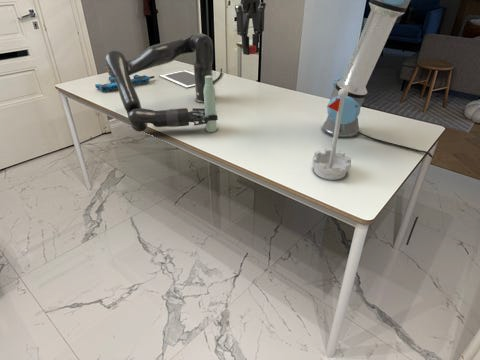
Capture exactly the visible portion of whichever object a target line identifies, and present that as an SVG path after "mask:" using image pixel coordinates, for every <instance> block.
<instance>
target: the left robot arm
mask: <svg viewBox="0 0 480 360" xmlns="http://www.w3.org/2000/svg"><path fill="white" fill-rule="evenodd" d="M192 53H195V60H194V61H193V73H194V75H195V86H194V88H195V100H196V102H198V103H202V104H204V86H205V76H212V83H213V84H215V83H216V82H217V81H218V80H219V79H220V78H221V77H222V75H223V74H222V73H223V68H220V74H219V76H218V77H217V78H216V79H213V62H214V44H213V39H212V38H211V37H210V36H208V35H207V34H204V33H201V32H197V33H196V32H195V33H194V34H191V35H187V36H185V37H183V38H180V39H176V40H170V41H166V42H161V43H156V44H153V45H151V46H149V47H147V48H146V49H145V50H144V51H142V52H141V53H140V54H139V55H138V56H136V57H135V58H132V59H129V60H127V57H126V55H125V54H124V53H123V52H121V51H120V50H110V51H108V52H106V54H105V57H104V63H105V66H106V70H107V73H108V75H109V77H112V78H115V80H116V83H117V87H118V88H117V89H118V93H119V97H120V100H121V102H122V105H123V107H124V110H125V112H126V114H127V119H128V122H129V124H130V127H131V128H132V129H133V130H134V131H135V132H144V131H145V130H146V129H147V128H148V124H151V125H153V127H155V128H165V127H170V128H176V127H178V128H179V127H188V126H189V125H190V123H192V124H193V125H194V126H200V125H201V126H202V125H206V124H207V123H208V122H209V121H214V120H216V121H218V119H219V118H218V115H217V114H216V115H209V116H208V115H205V108H197V107H196V108H195V107H193V108H191V109H192V110H191V111H190V110H189V109H188V108H187V107H184V108H181V107H180V108H169V109H162V110H161V109H159V110H156V109H155V110H154V109H151V108H150V109H149V108H143V107H142V105H141V101H140V99H139V95H138V94H137V91H136V88H135V87H134V85H133V84H132V81H131V79H132V78H131V75H135V74H136V73H139V72H142V71H145V70H148V69H152V68H154V67H159V66H162V65H166V64H170V63H172V62H174V61H175V60H177V59H179V58H180V57H181V56H184V55H188V54H192ZM213 80H214V81H213Z"/></svg>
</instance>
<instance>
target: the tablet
mask: <svg viewBox="0 0 480 360" xmlns="http://www.w3.org/2000/svg"><path fill="white" fill-rule="evenodd" d="M159 77H160V78H162V79H165V80H167V81H169V82H172V83H174V84H177V85H179V86H181V87H183V88H186V89H188V88H192V87H195V75H194V72H193V71H190V70H187V69H184V70H180V71H175V72H169V73H165V74H160V75H159ZM213 81H215V79H213Z"/></svg>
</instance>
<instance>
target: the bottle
mask: <svg viewBox="0 0 480 360" xmlns="http://www.w3.org/2000/svg"><path fill="white" fill-rule="evenodd" d="M212 78H213V75H212V76H205V86H204V103H203V104H204V109H205V115H208V116H209V115H217V103H216V90H215V85H214V83H212ZM217 127H218V126H217V120H214V121H209V122H208V123H207V124H205V131H206V132H209V133H213V132H216V131H217V130H218V128H217Z"/></svg>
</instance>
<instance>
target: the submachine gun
mask: <svg viewBox="0 0 480 360" xmlns="http://www.w3.org/2000/svg"><path fill="white" fill-rule="evenodd" d="M130 79H131V81H132V84H133V86H134V85H140V84H146V83H148V82H149V81H151V80H152V79H155V75H152V76H148V75H146V74H145V75H144V74H143V75H139V74H134V75H133V78H130ZM108 80H109V81H110V82H109V83H104V84H100V83H96V84H94V85H95V89H97V90H99V92H107V91H113V92H115V90H116V89H118V87H117V83H116V80H115V78H112V77H111V76H108Z"/></svg>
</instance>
